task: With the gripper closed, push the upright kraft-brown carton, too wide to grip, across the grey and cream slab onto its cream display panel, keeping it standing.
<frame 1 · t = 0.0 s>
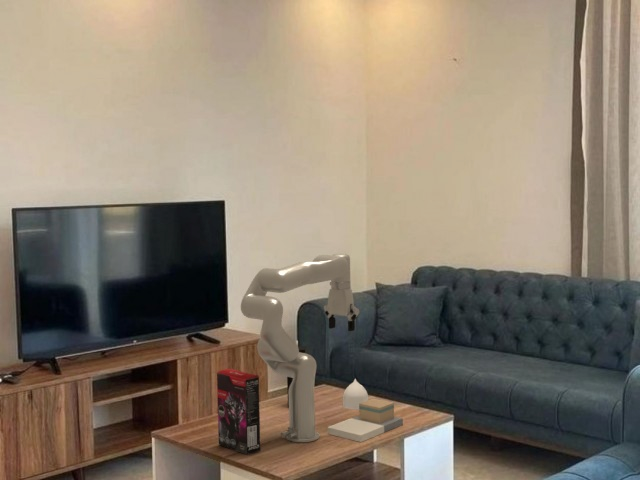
hand: (341, 329, 310), 37 cm above the table, tool pointing down, fingers open, 9 cm apart
grey and cream slab: (365, 429, 303), on the table
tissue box: (298, 405, 337), on the table
graphics card box: (239, 448, 284), on the table
carton: (376, 418, 308), point 2 cm above the table, touching grey and cream slab
teardrop: (355, 406, 334), on the table
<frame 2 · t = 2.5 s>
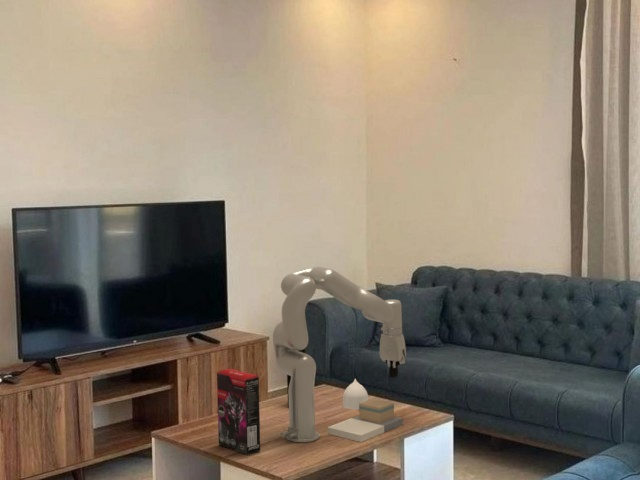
hand: (393, 376, 315), 17 cm above the table, tool pointing down, fingers closed
nothing on the table moved.
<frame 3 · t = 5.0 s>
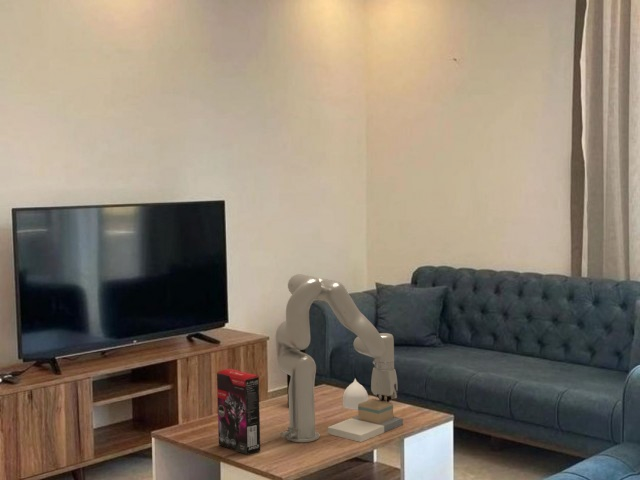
hand: (385, 411, 312), 4 cm above the table, tool pointing down, fingers closed
nothing on the table moved.
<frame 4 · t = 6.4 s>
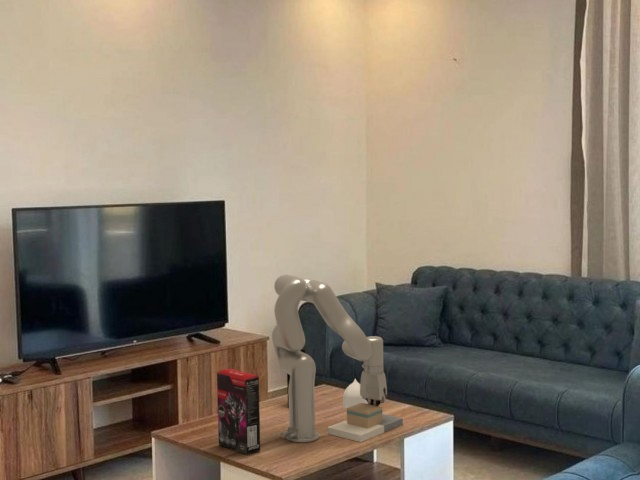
hand: (374, 415, 307), 4 cm above the table, tool pointing down, fingers closed
carton: (364, 423, 302), point 3 cm above the table, touching gripper
everything else where it was.
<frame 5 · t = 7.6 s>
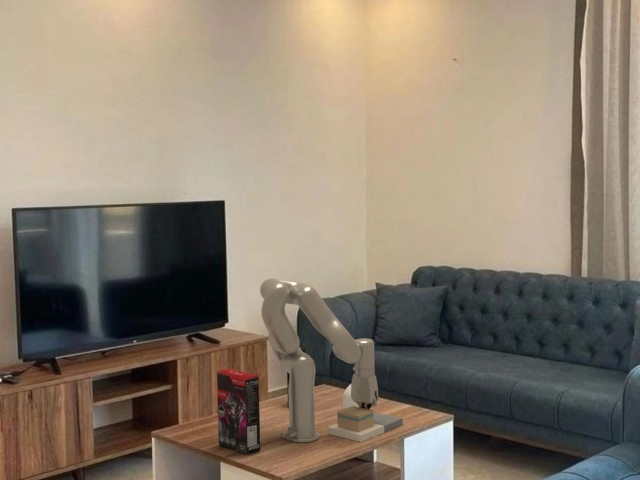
hand: (365, 418, 303), 4 cm above the table, tool pointing down, fingers closed
carton: (355, 426, 298), point 2 cm above the table, touching gripper, grey and cream slab
everything else where it was.
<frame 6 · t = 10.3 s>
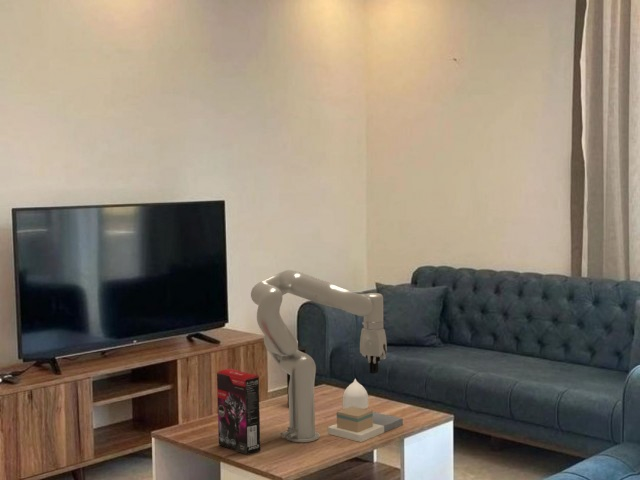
hand: (373, 372, 306), 21 cm above the table, tool pointing down, fingers closed
carton: (354, 426, 298), point 2 cm above the table, touching grey and cream slab
everything else where it was.
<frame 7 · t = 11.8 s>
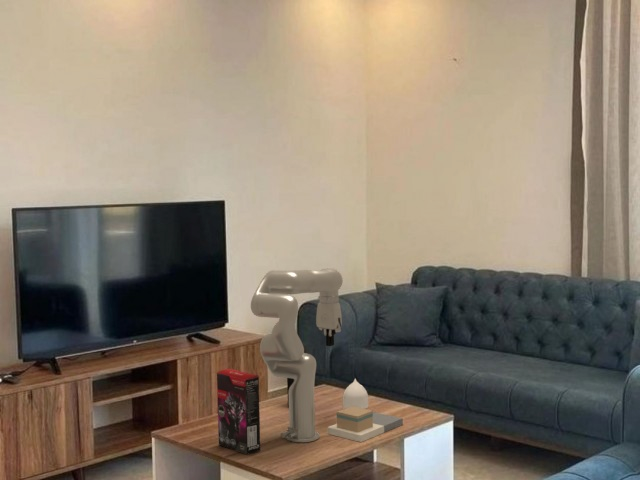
hand: (330, 345, 317), 29 cm above the table, tool pointing down, fingers closed
nothing on the table moved.
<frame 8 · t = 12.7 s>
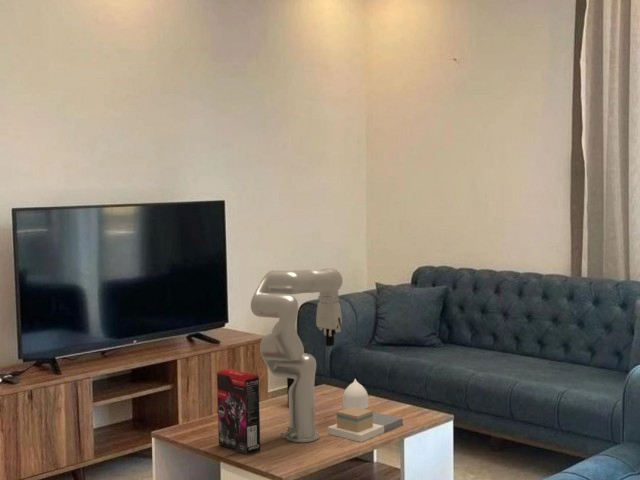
hand: (330, 345, 317), 29 cm above the table, tool pointing down, fingers closed
nothing on the table moved.
at the end: carton inside the target area on the grey and cream slab (0.1 cm from its centre), point 2.5 cm above the grey and cream slab's base; carton tilted 0°; carton touching grey and cream slab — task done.
